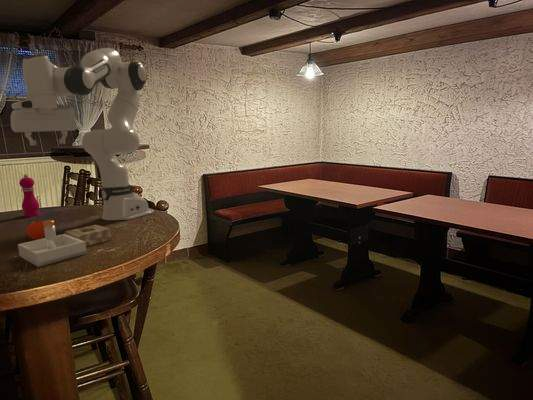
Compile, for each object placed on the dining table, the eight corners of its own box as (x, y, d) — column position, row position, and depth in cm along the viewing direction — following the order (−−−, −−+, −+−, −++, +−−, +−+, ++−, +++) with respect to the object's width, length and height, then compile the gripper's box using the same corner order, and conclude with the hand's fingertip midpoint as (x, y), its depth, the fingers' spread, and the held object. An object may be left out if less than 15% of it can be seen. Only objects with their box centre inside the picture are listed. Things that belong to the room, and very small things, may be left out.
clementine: (21, 242, 136) (17, 223, 135) (35, 236, 143) (32, 218, 142) (41, 242, 135) (38, 223, 134) (54, 236, 142) (51, 218, 140)
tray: (65, 245, 130) (64, 233, 129) (86, 253, 120) (85, 241, 119) (19, 256, 120) (17, 244, 119) (38, 266, 110) (36, 253, 109)
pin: (56, 249, 122) (51, 219, 120) (59, 251, 120) (55, 220, 118) (46, 252, 120) (41, 221, 118) (49, 254, 118) (45, 222, 116)
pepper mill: (43, 214, 183) (37, 173, 179) (28, 217, 177) (21, 175, 173) (35, 213, 187) (29, 173, 183) (20, 216, 181) (13, 174, 177)
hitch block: (96, 235, 142) (95, 224, 141) (111, 239, 135) (110, 228, 134) (66, 242, 134) (64, 231, 133) (79, 247, 126) (78, 236, 126)
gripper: (70, 105, 140) (75, 143, 143) (5, 104, 125) (12, 146, 128) (77, 104, 136) (82, 142, 139) (11, 102, 121) (18, 146, 124)
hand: (48, 144), depth 133 cm, fingers open, 8 cm apart
